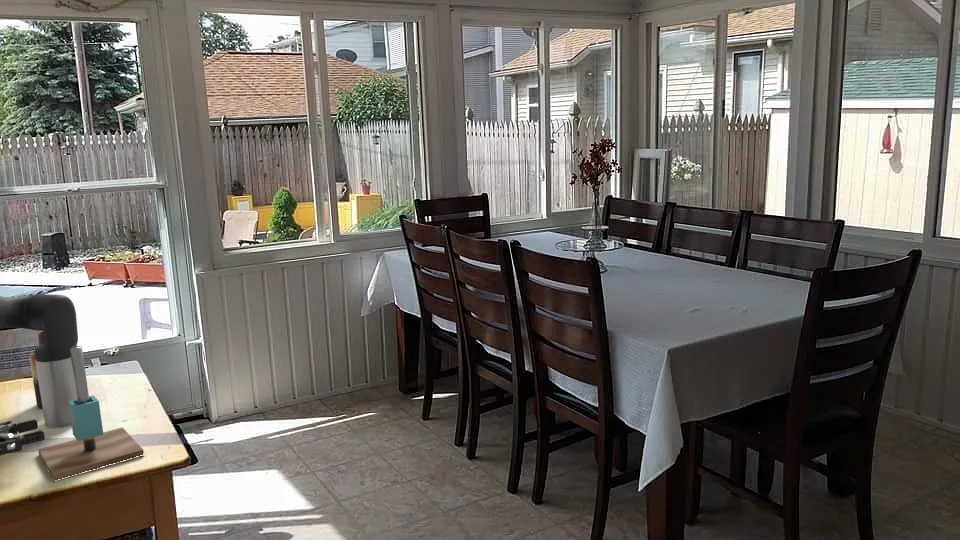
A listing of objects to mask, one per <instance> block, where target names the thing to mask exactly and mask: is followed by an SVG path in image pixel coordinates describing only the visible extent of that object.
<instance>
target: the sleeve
mask: <svg viewBox="0 0 960 540" xmlns="http://www.w3.org/2000/svg"><path fill="white" fill-rule="evenodd" d="M89 400H90V402H88V403H84V404H79V405H78V403H77V399H75V400H71V401H68V404H69V411H70V417H71V424H72V425H71V429H72V435H73V437H74V438H75V439H77V441H81V440H85V439H89V438H93V437H97V436H101V435H103V432H104V429H103V422H102V414H101V407H100V401H99V400H98V399H97V397H96V396H95V395H89Z"/></svg>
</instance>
